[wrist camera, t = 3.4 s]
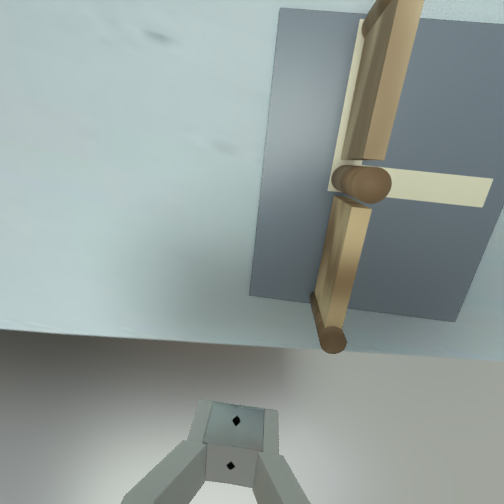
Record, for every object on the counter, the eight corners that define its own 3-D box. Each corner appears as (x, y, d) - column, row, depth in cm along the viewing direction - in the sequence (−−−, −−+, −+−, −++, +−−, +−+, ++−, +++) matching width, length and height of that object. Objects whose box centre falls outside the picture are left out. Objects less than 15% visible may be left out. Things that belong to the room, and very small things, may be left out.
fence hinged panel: (329, 194, 21) (350, 208, 15) (351, 197, 21) (381, 211, 15) (308, 305, 25) (318, 351, 19) (327, 308, 25) (343, 355, 19)
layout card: (571, 31, 17) (577, 29, 17) (453, 320, 25) (455, 322, 24) (279, 10, 18) (279, 7, 18) (249, 293, 26) (249, 295, 25)
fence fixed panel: (392, 14, 18) (460, -72, 11) (352, 191, 22) (386, 205, 15) (361, 12, 18) (411, -75, 11) (328, 189, 22) (350, 201, 15)
